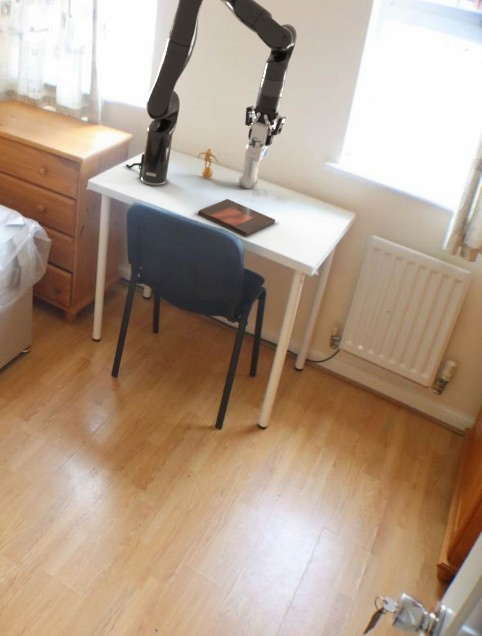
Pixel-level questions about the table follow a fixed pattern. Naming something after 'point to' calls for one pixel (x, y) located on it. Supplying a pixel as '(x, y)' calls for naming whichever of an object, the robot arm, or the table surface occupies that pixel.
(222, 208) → the counter board
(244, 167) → the plastic bottle
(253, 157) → the ink box
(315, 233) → the table surface
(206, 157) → the figurine
